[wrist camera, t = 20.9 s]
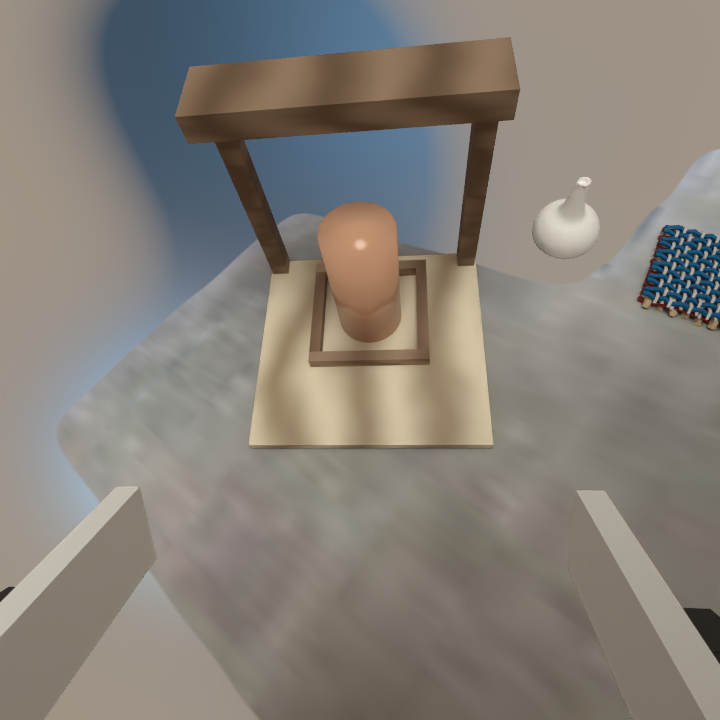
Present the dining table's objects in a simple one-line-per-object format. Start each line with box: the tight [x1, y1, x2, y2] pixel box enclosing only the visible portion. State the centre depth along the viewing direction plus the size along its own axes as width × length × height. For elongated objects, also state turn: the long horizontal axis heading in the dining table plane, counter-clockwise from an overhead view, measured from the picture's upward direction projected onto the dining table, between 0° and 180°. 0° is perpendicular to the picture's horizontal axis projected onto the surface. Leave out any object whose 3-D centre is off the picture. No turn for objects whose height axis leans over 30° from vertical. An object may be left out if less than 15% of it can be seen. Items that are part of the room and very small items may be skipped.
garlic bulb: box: [532, 177, 600, 259], centre depth 46 cm, size 6×6×8 cm
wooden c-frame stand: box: [175, 37, 520, 448], centre depth 36 cm, size 21×20×22 cm
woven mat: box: [638, 225, 720, 330], centre depth 45 cm, size 10×11×2 cm
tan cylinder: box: [317, 202, 401, 343], centre depth 41 cm, size 6×6×12 cm
